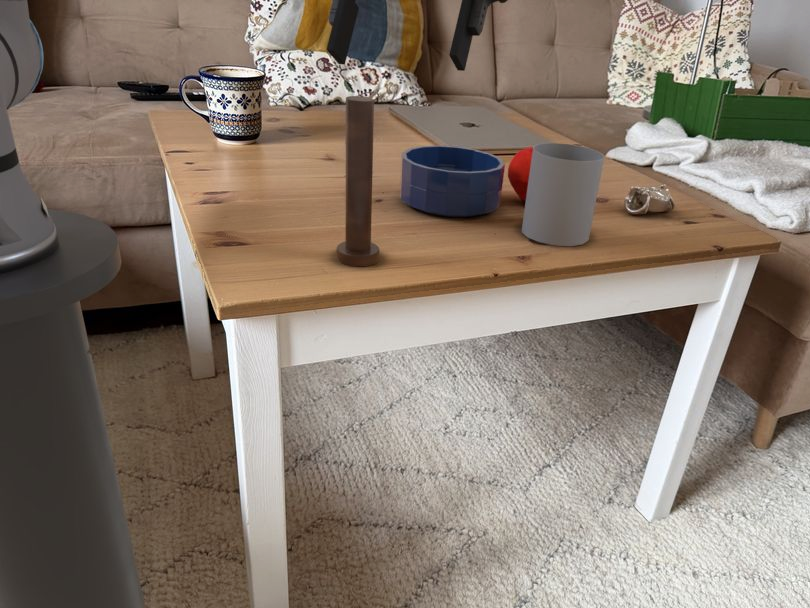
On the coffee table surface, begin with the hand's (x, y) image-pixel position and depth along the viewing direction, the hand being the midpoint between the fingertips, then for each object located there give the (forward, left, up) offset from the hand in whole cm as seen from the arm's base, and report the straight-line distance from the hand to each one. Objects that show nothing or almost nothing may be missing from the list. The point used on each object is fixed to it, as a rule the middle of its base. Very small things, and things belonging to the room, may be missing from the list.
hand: (394, 60), depth 68 cm
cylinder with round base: (-3, -7, -19) cm, 20 cm away
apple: (+21, +16, -19) cm, 32 cm away
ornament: (+37, +14, -19) cm, 43 cm away
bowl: (+9, +13, -19) cm, 24 cm away
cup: (+21, +3, -19) cm, 28 cm away
